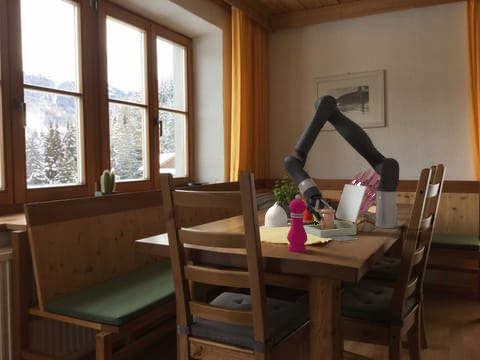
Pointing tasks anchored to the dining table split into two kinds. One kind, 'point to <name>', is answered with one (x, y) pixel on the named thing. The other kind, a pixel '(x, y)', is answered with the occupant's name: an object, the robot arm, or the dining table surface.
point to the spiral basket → (367, 189)
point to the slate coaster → (342, 238)
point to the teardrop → (276, 217)
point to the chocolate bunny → (368, 222)
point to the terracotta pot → (327, 219)
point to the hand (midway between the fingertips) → (327, 219)
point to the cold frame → (343, 214)
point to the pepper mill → (297, 226)
